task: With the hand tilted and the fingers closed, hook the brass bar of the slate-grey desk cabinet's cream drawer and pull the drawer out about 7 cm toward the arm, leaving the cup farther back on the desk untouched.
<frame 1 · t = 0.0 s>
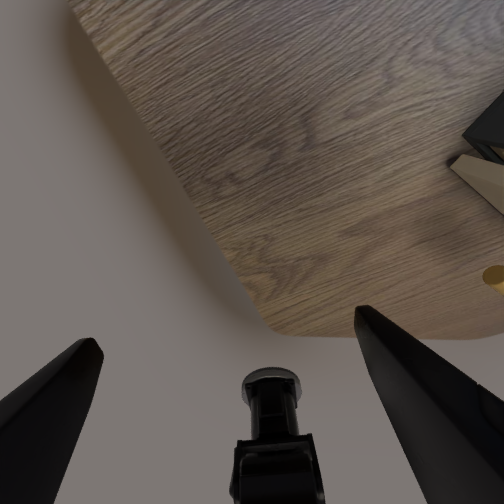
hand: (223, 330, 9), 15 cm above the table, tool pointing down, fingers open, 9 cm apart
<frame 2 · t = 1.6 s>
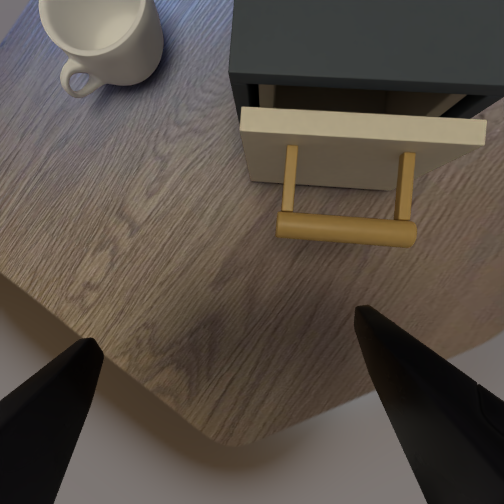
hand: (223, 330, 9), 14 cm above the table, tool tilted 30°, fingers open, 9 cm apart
cabinet: (326, 82, 23), on the table
drawer: (339, 109, 17), point 6 cm above the table, slide at 1.0 cm
teacup: (126, 68, 24), on the table
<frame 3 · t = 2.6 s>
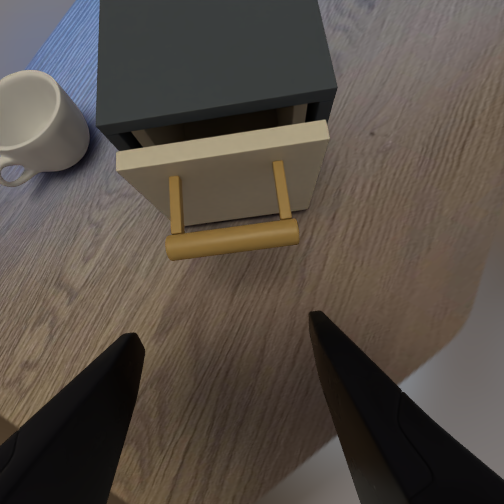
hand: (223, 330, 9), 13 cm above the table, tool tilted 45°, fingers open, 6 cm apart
cabinet: (233, 135, 26), on the table
drawer: (228, 146, 19), point 6 cm above the table, slide at 1.0 cm
teacup: (62, 158, 27), on the table
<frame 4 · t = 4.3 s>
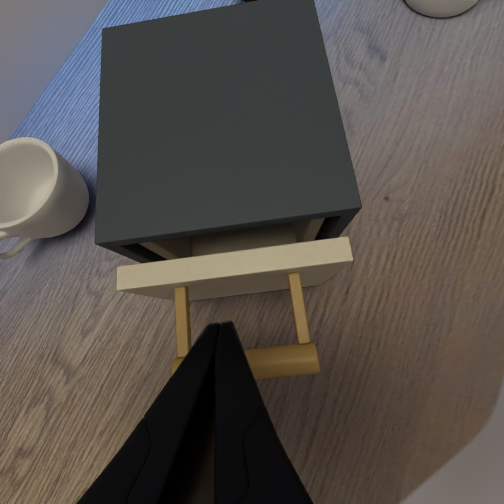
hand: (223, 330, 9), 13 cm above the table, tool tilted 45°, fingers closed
cabinet: (240, 197, 25), on the table
drawer: (237, 231, 18), point 6 cm above the table, slide at 1.0 cm
teacup: (60, 218, 26), on the table
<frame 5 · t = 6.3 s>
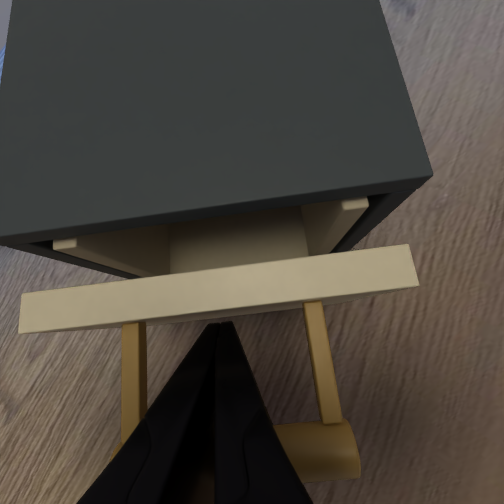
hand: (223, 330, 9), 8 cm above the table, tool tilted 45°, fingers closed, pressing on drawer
cabinet: (233, 182, 20), on the table
drawer: (227, 233, 13), point 6 cm above the table, slide at 1.5 cm, touching gripper
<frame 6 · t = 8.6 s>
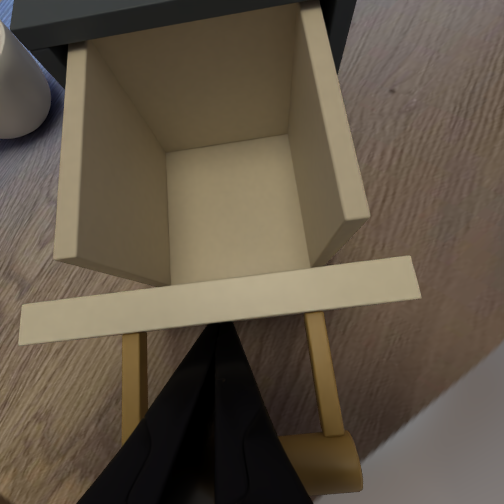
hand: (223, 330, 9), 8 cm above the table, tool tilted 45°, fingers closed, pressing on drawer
cabinet: (223, 95, 22), on the table
drawer: (227, 239, 13), point 6 cm above the table, slide at 9.7 cm, touching gripper
teacup: (19, 125, 23), on the table
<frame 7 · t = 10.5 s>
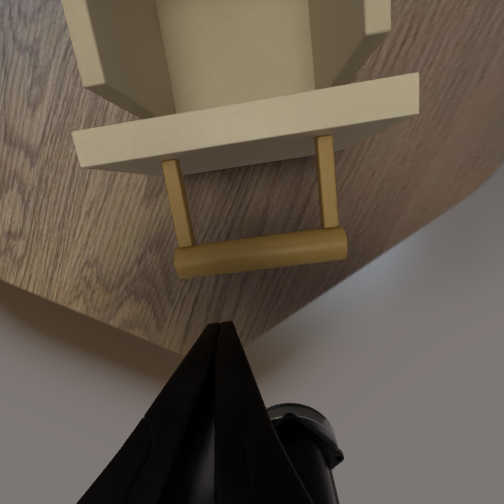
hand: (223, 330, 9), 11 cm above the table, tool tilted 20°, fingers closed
drawer: (237, 72, 13), point 6 cm above the table, slide at 8.7 cm
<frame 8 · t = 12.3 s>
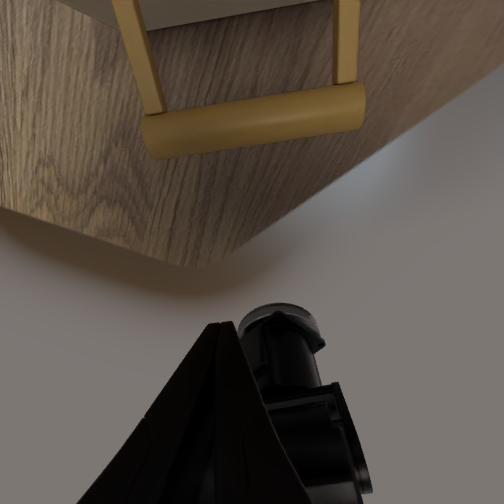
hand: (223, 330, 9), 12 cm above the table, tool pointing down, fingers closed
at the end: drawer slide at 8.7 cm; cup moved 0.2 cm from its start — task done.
